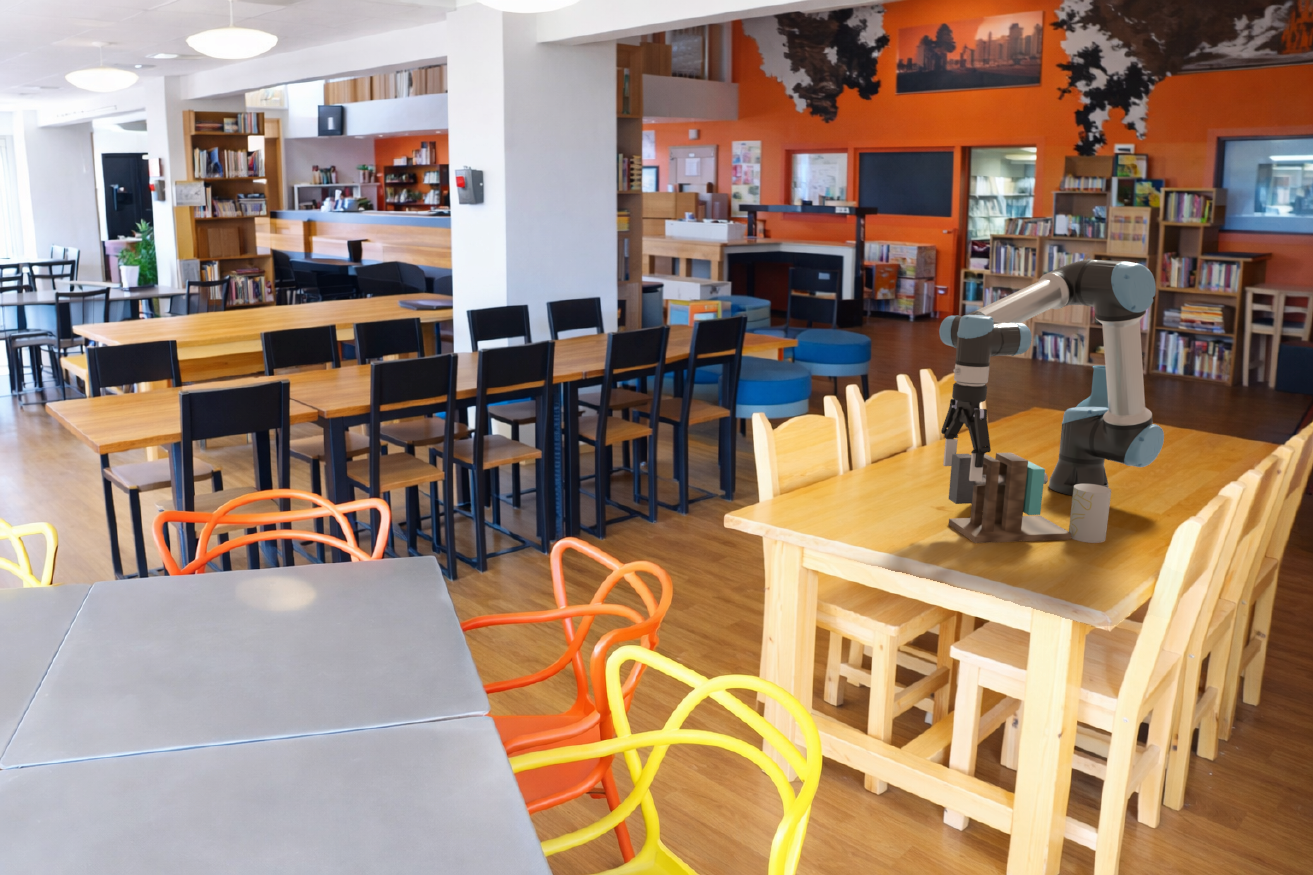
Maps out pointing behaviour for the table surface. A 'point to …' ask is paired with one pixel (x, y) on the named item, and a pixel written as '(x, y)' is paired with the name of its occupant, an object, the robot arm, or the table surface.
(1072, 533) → the cup
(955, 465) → the shaft
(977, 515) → the stand
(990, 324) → the robot arm
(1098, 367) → the vase
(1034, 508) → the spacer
